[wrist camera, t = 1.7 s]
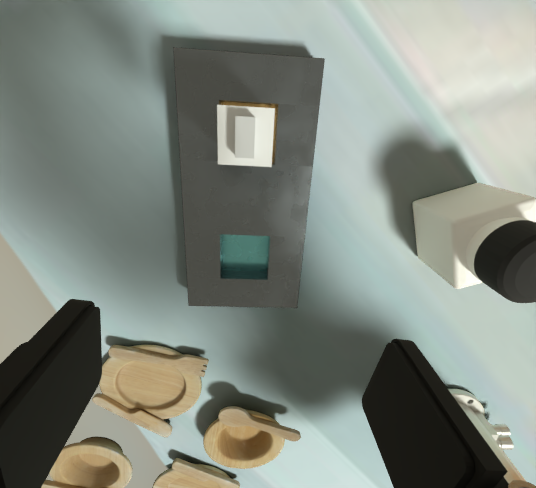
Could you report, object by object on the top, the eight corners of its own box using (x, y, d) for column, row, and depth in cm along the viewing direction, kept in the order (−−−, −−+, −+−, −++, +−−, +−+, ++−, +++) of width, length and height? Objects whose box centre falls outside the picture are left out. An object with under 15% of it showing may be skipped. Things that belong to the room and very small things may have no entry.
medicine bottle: (416, 258, 34) (496, 324, 22) (410, 200, 31) (497, 243, 20) (479, 241, 33) (591, 300, 22) (478, 181, 30) (606, 213, 19)
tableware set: (208, 518, 53) (204, 548, 49) (43, 472, 46) (24, 503, 42) (319, 398, 42) (325, 424, 39) (126, 314, 35) (110, 337, 32)
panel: (318, 64, 26) (324, 58, 23) (294, 295, 35) (296, 307, 32) (180, 54, 25) (173, 47, 23) (193, 293, 34) (188, 305, 32)
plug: (268, 113, 26) (276, 107, 17) (266, 154, 28) (272, 169, 19) (229, 110, 26) (215, 103, 17) (229, 152, 28) (215, 166, 18)
